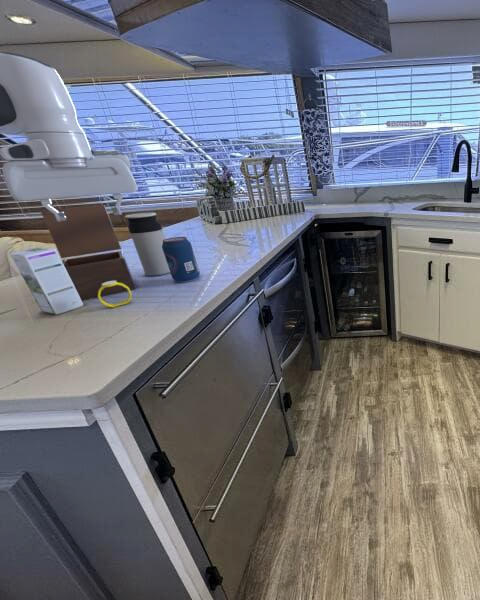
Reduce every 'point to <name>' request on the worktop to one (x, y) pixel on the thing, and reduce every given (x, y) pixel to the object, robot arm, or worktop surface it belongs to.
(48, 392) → the worktop surface
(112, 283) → the watch
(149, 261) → the travel mug
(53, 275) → the syrup box
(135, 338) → the worktop surface
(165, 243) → the soda can
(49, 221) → the chest lid
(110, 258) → the chest
